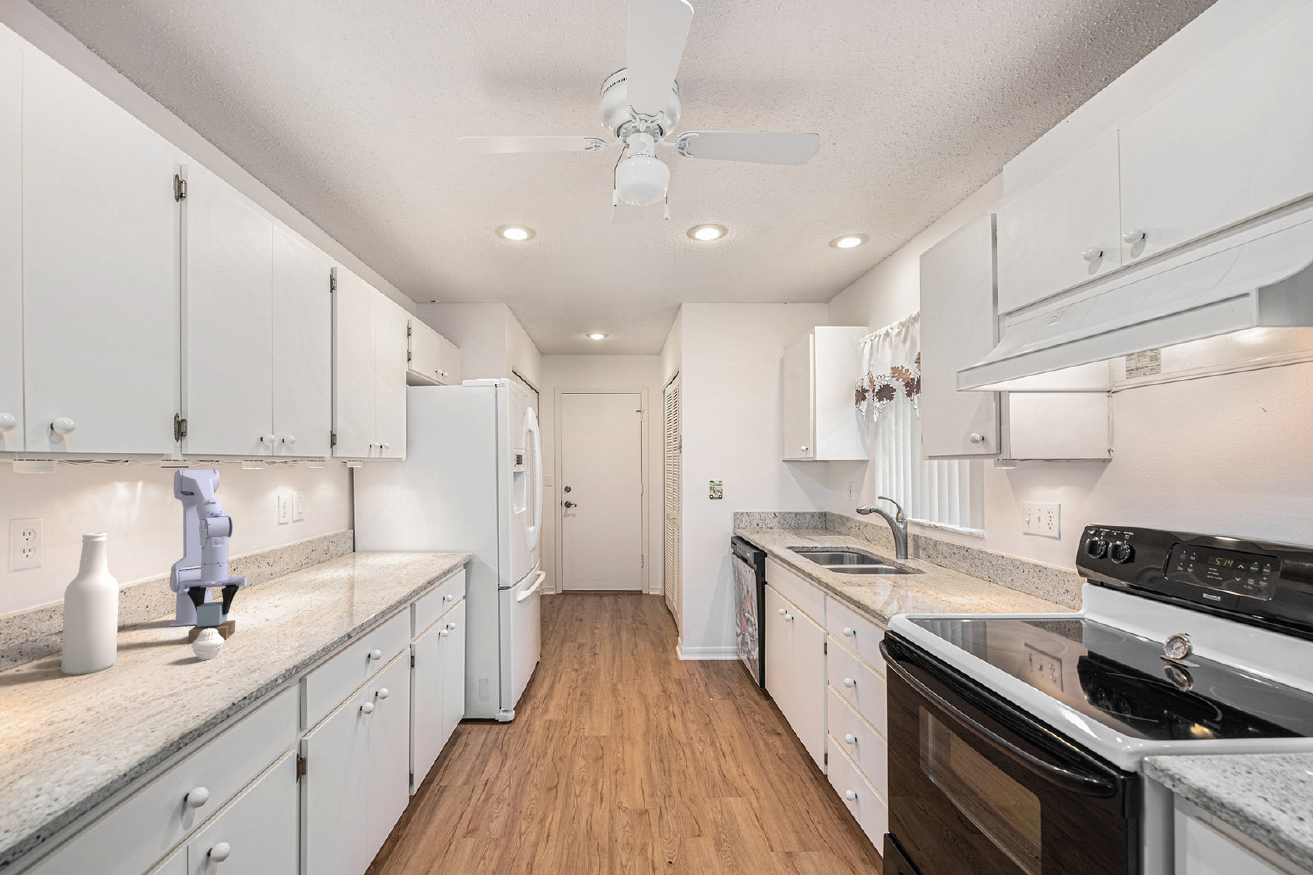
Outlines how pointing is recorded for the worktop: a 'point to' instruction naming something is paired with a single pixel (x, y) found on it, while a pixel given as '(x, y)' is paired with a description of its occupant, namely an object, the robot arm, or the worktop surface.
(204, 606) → the blue cube
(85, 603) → the white bottle
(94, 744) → the worktop surface
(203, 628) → the walnut base
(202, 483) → the robot arm
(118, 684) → the worktop surface
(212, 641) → the muffin
